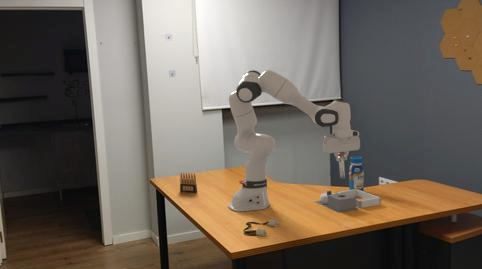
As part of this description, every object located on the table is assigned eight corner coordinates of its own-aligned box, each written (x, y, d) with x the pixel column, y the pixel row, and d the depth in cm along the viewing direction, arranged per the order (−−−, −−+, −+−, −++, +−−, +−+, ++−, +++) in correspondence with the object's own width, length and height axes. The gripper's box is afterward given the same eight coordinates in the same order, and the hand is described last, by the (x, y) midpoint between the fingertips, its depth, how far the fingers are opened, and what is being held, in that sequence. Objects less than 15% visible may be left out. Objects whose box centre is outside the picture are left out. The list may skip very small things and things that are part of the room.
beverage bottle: (352, 188, 277) (352, 155, 274) (366, 190, 272) (366, 156, 269) (346, 192, 270) (346, 158, 267) (360, 193, 265) (360, 159, 263)
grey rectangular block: (338, 215, 228) (338, 200, 227) (314, 204, 248) (314, 190, 247) (358, 211, 233) (358, 197, 232) (333, 201, 253) (333, 187, 252)
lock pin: (341, 178, 231) (340, 153, 231) (339, 178, 234) (337, 153, 233) (346, 178, 232) (344, 153, 232) (343, 177, 234) (341, 152, 234)
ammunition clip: (180, 192, 284) (179, 172, 282) (181, 191, 285) (180, 172, 284) (196, 193, 280) (195, 173, 278) (197, 192, 282) (196, 172, 280)
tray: (360, 210, 235) (360, 201, 234) (336, 201, 253) (336, 192, 252) (380, 207, 240) (380, 197, 239) (356, 197, 258) (356, 189, 257)
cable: (233, 233, 210) (233, 226, 210) (249, 222, 225) (249, 215, 224) (265, 238, 203) (265, 230, 203) (279, 226, 218) (279, 219, 217)
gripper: (327, 135, 224) (327, 163, 226) (362, 132, 232) (361, 159, 234) (320, 134, 229) (320, 161, 231) (354, 130, 238) (354, 157, 239)
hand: (341, 160), depth 233 cm, fingers closed on lock pin, 2 cm apart
